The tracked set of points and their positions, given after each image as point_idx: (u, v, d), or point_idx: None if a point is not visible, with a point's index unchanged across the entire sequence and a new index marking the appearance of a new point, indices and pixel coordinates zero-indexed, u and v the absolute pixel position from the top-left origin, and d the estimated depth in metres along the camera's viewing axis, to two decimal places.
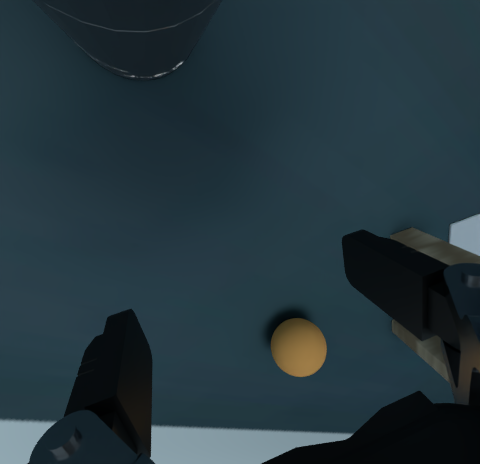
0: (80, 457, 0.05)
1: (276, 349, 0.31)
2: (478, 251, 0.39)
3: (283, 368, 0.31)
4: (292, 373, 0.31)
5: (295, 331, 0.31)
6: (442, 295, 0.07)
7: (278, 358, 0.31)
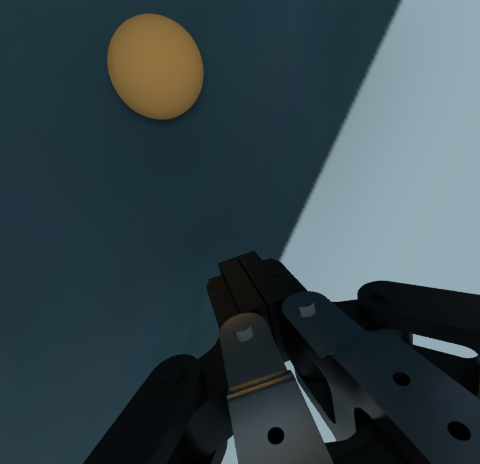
0: (249, 346, 0.07)
1: (149, 116, 0.20)
2: None
3: (176, 108, 0.19)
4: (180, 94, 0.18)
5: (112, 81, 0.18)
6: (282, 322, 0.08)
7: (161, 115, 0.19)
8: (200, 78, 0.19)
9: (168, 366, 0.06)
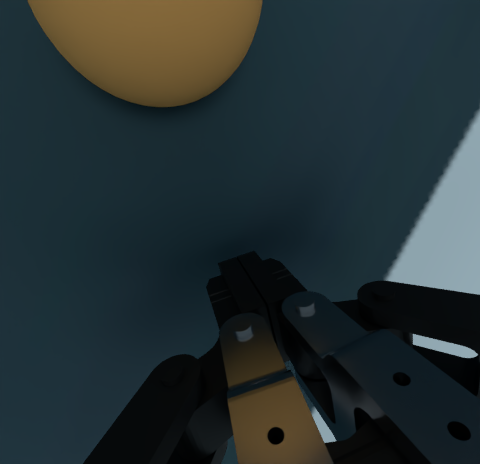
0: (249, 346, 0.07)
1: (131, 99, 0.08)
2: None
3: (199, 76, 0.07)
4: (212, 35, 0.07)
5: (28, 1, 0.07)
6: (282, 322, 0.08)
7: (161, 96, 0.08)
8: (260, 0, 0.07)
9: (168, 366, 0.06)
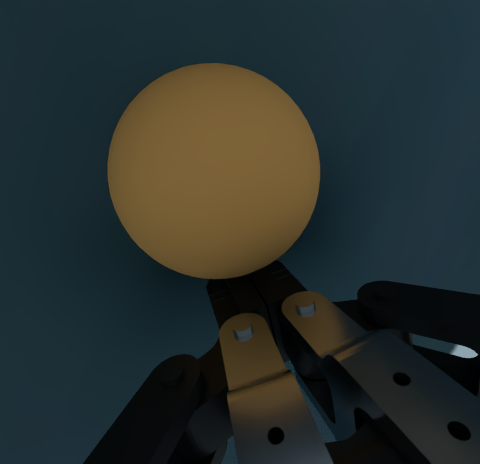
0: (249, 346, 0.07)
1: (174, 192, 0.06)
2: None
3: (246, 120, 0.06)
4: (247, 85, 0.07)
5: (108, 181, 0.08)
6: (282, 322, 0.08)
7: (204, 157, 0.06)
8: None
9: (168, 366, 0.06)
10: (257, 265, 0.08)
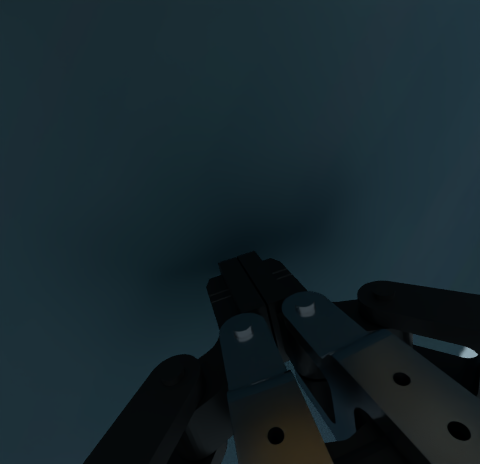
0: (249, 346, 0.07)
1: None
2: None
3: None
4: None
5: None
6: (282, 322, 0.08)
7: None
8: None
9: (168, 366, 0.06)
10: None
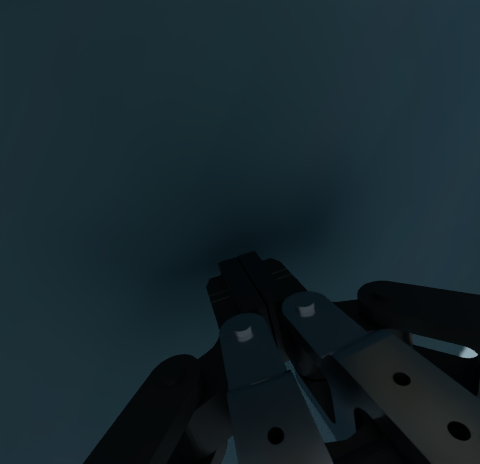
0: (249, 346, 0.07)
1: None
2: None
3: None
4: None
5: None
6: (282, 322, 0.08)
7: None
8: None
9: (168, 366, 0.06)
10: None
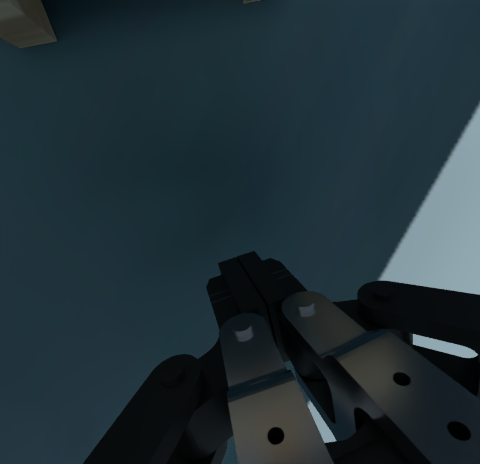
0: (249, 346, 0.07)
1: None
2: None
3: None
4: None
5: None
6: (282, 322, 0.08)
7: None
8: None
9: (168, 366, 0.06)
10: None
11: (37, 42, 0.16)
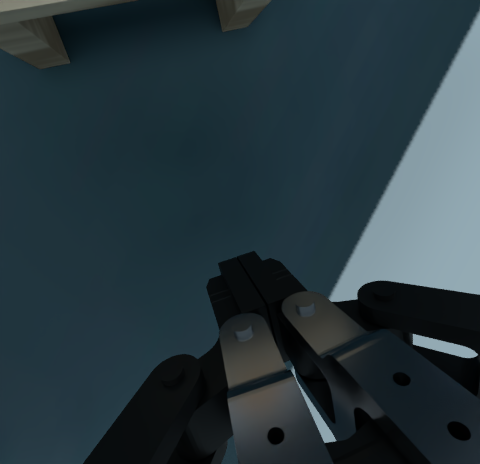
0: (249, 346, 0.07)
1: None
2: None
3: None
4: None
5: None
6: (282, 322, 0.08)
7: None
8: None
9: (168, 366, 0.06)
10: None
11: (55, 64, 0.20)
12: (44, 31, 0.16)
